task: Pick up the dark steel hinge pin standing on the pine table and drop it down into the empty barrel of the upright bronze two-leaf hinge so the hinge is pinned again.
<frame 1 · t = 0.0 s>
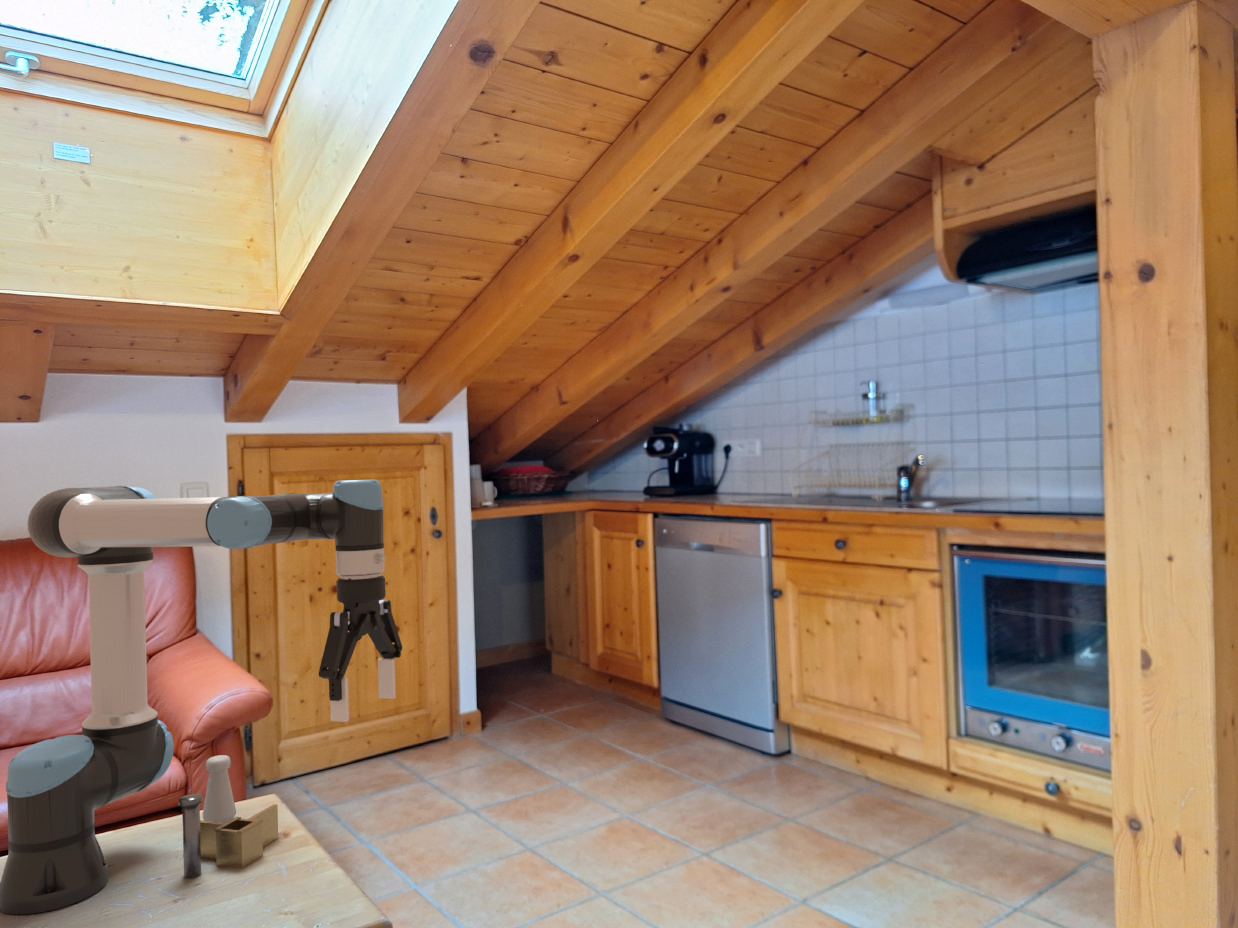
hand: (364, 708, 141), 28 cm above the table, fingers open, 13 cm apart
hinge: (240, 859, 151), on the table
salt shaker: (219, 826, 167), on the table
hinge pin: (192, 874, 146), on the table
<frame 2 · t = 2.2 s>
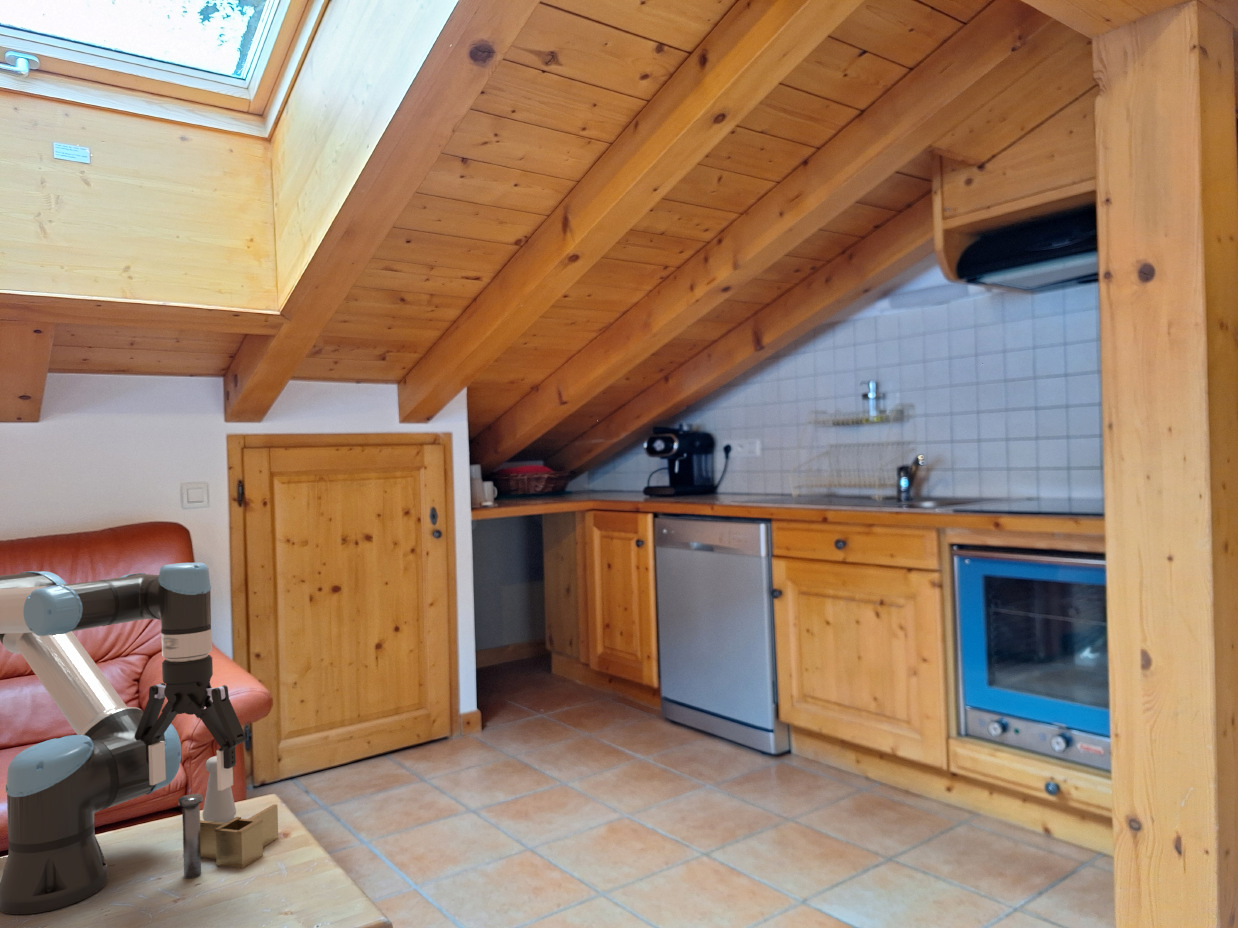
hand: (191, 784, 146), 15 cm above the table, fingers open, 13 cm apart
nothing on the table moved.
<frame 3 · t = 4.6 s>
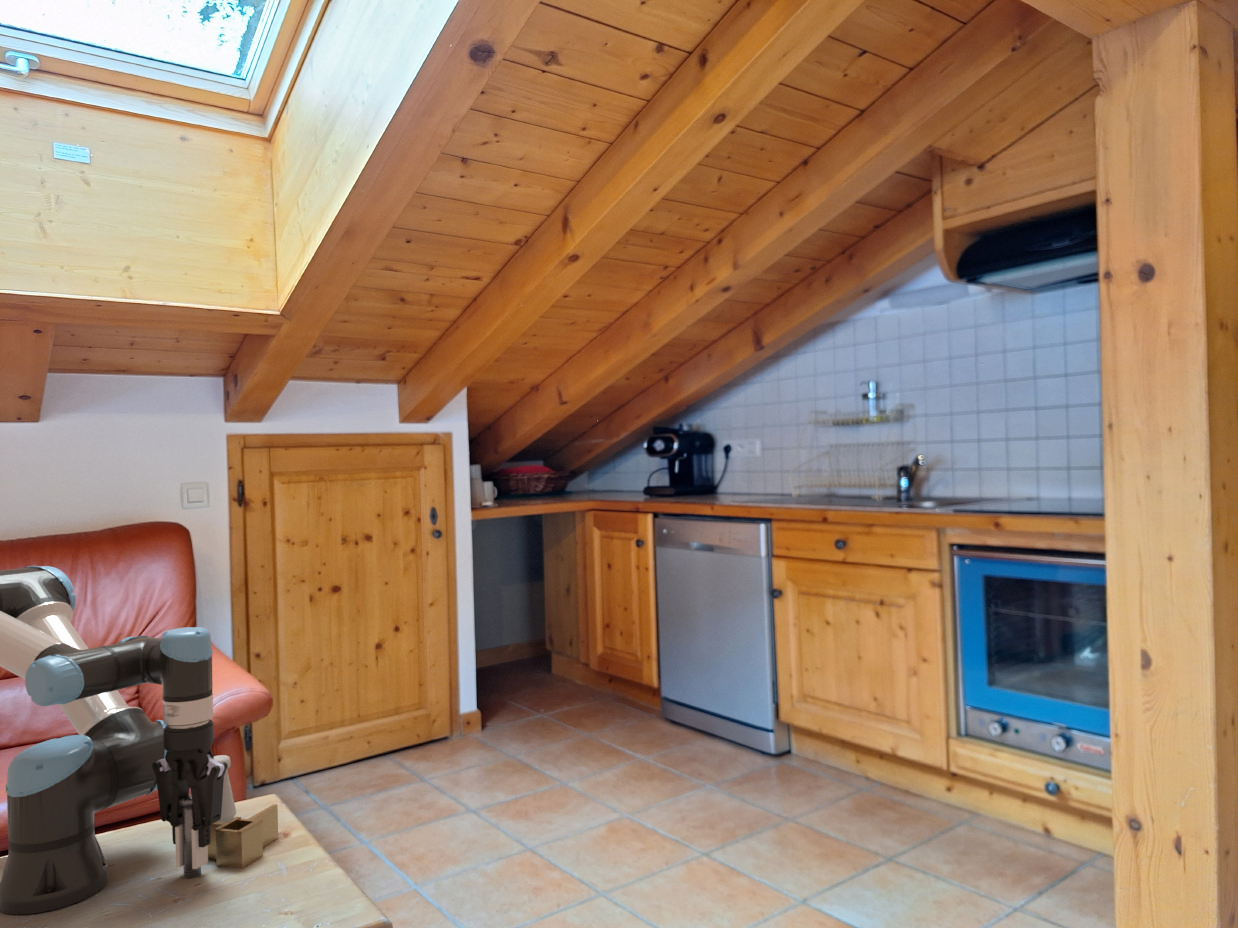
hand: (192, 863, 146), 2 cm above the table, fingers closed on hinge pin, 2 cm apart
hinge pin: (192, 874, 146), on the table, touching gripper
everything else where it was.
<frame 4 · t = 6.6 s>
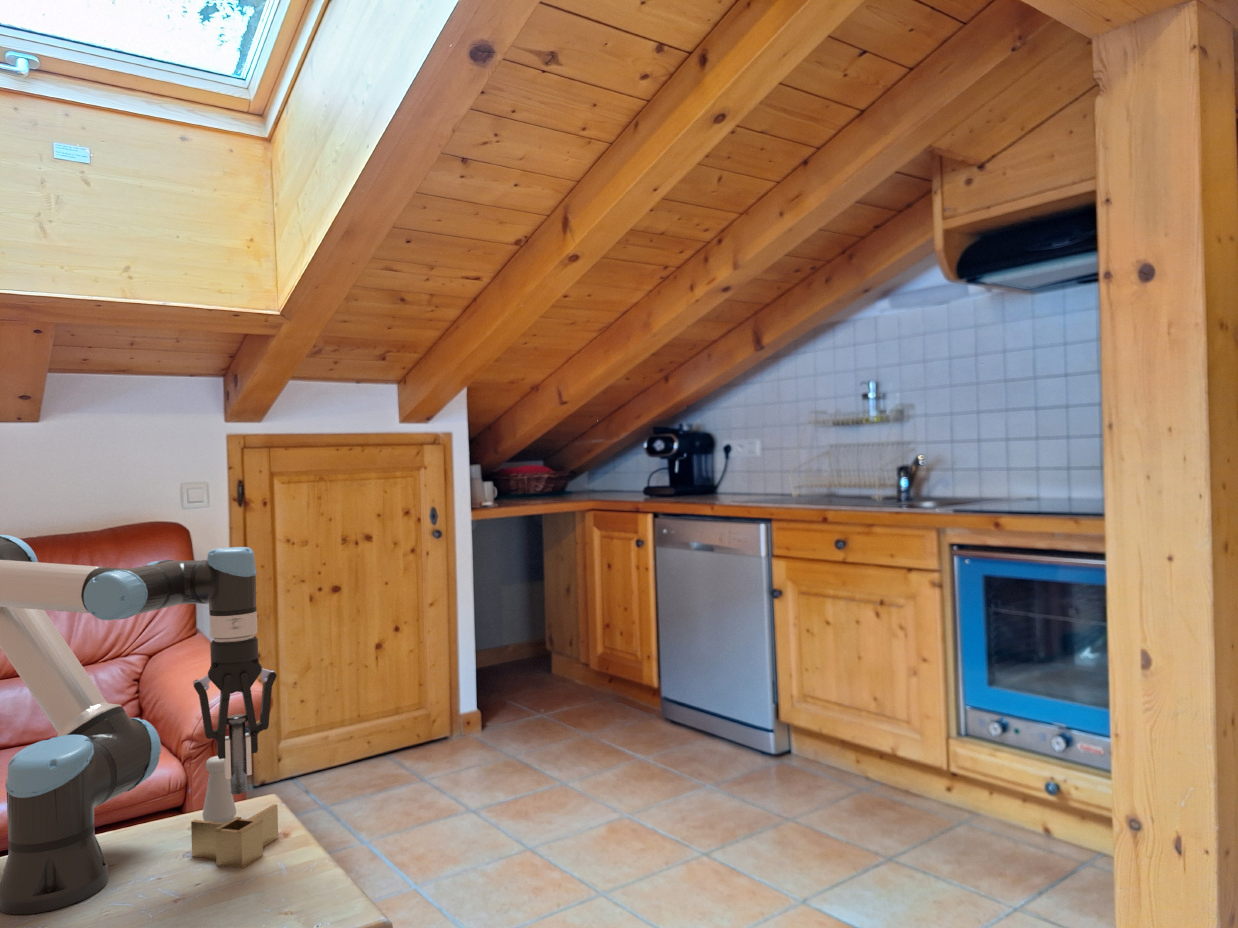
hand: (238, 774, 152), 15 cm above the table, fingers closed on hinge pin, 2 cm apart
hinge pin: (238, 791, 151), point 12 cm above the table, touching gripper
everything else where it was.
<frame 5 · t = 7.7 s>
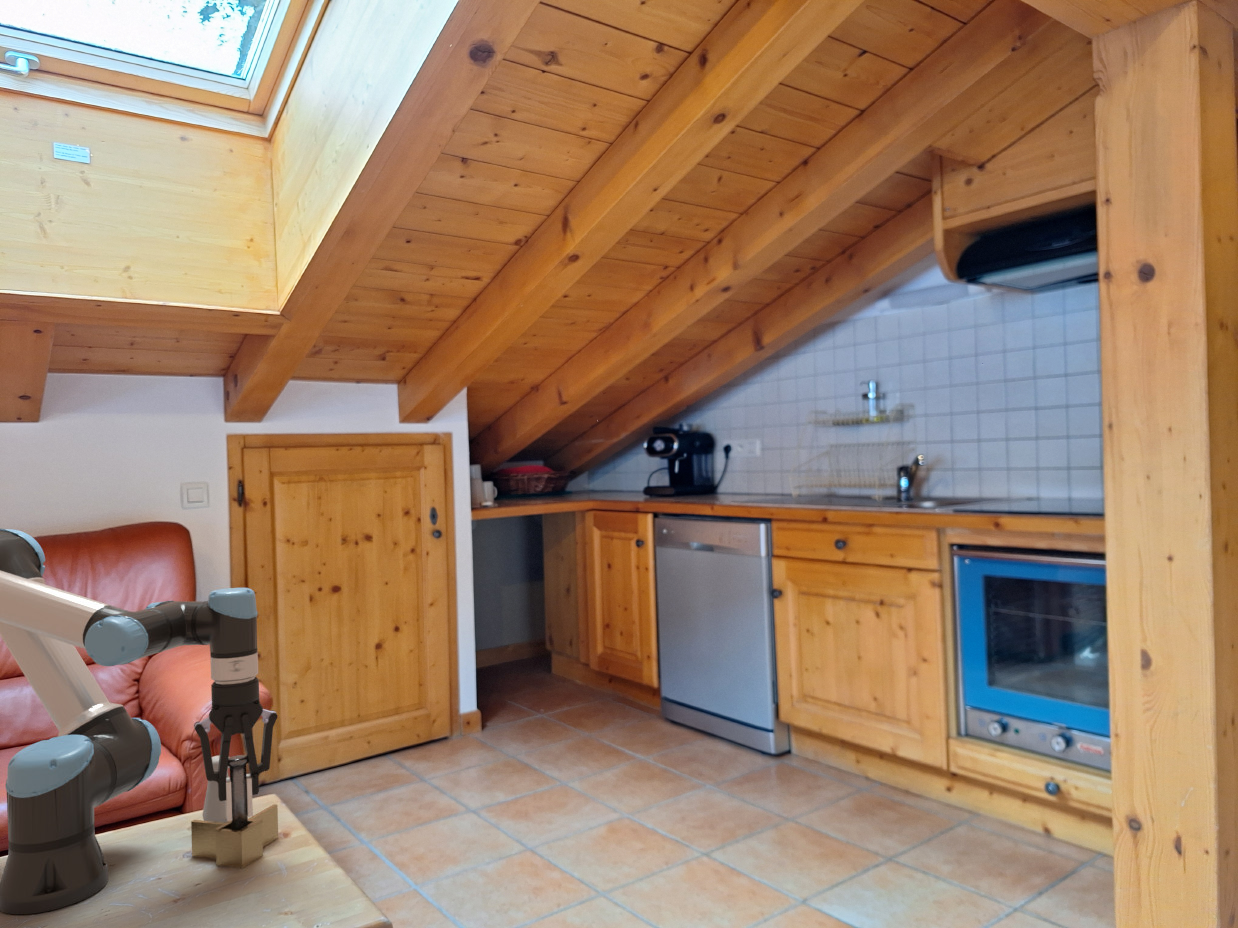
hand: (239, 815, 151), 8 cm above the table, fingers closed on hinge pin, 2 cm apart
hinge pin: (239, 832, 151), point 5 cm above the table, touching gripper
everything else where it was.
when the fingers open (7 cm above the table, at t = 8.7 s): hinge pin drops 4 cm, resting in hinge.
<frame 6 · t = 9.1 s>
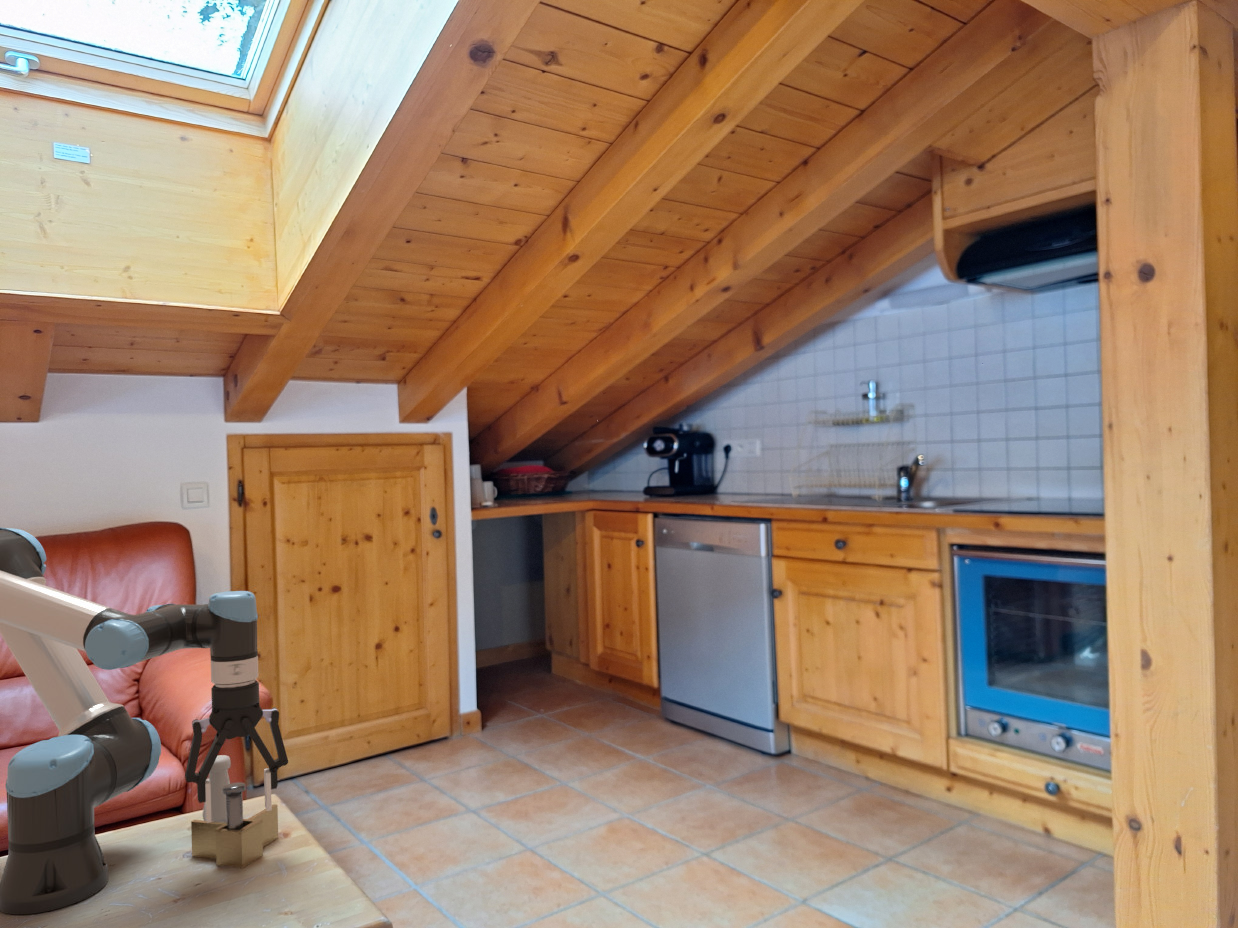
hand: (238, 813, 152), 8 cm above the table, fingers open, 9 cm apart
hinge pin: (235, 861, 151), resting in hinge
everything else where it was.
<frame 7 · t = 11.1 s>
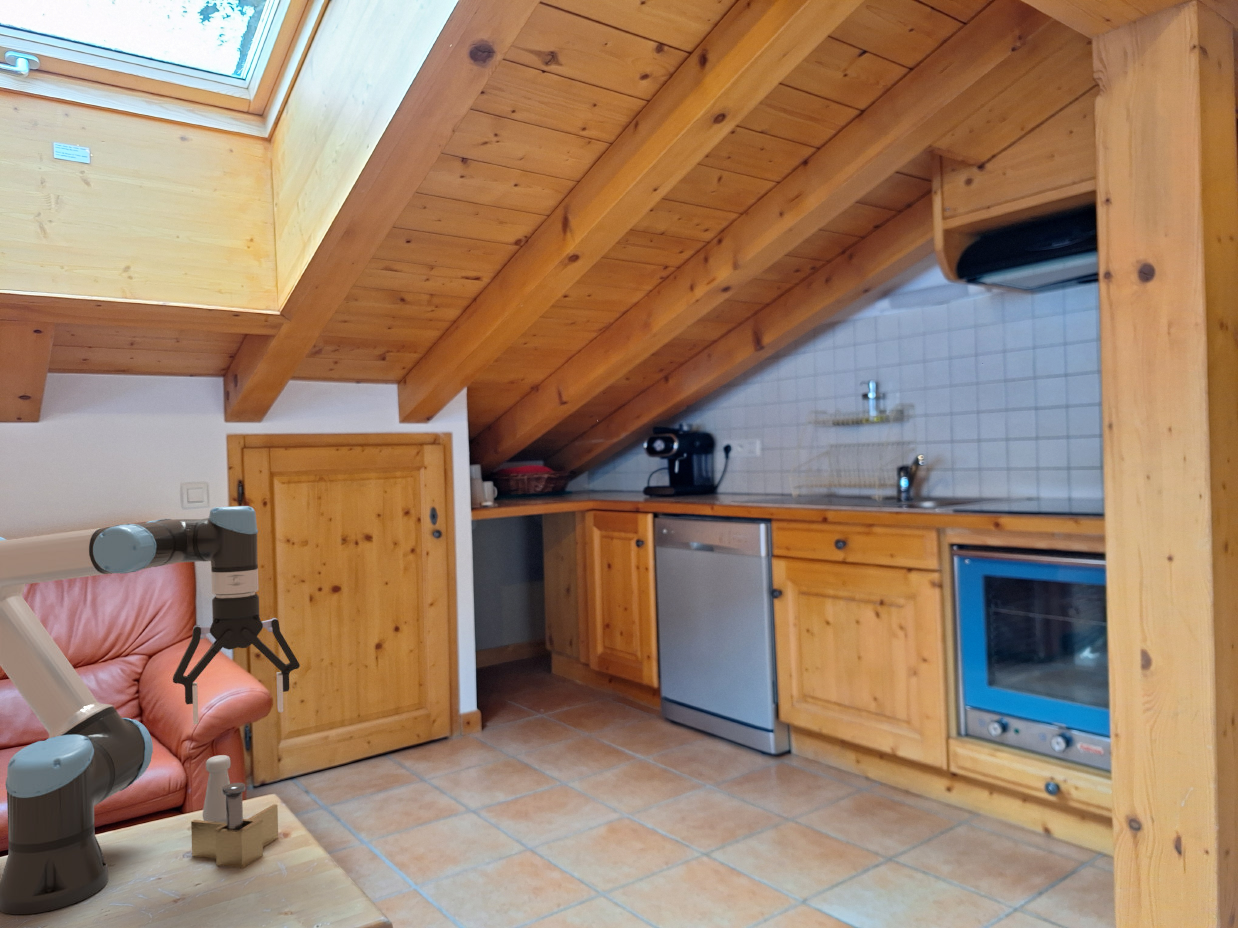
hand: (239, 716, 154), 24 cm above the table, fingers open, 13 cm apart
nothing on the table moved.
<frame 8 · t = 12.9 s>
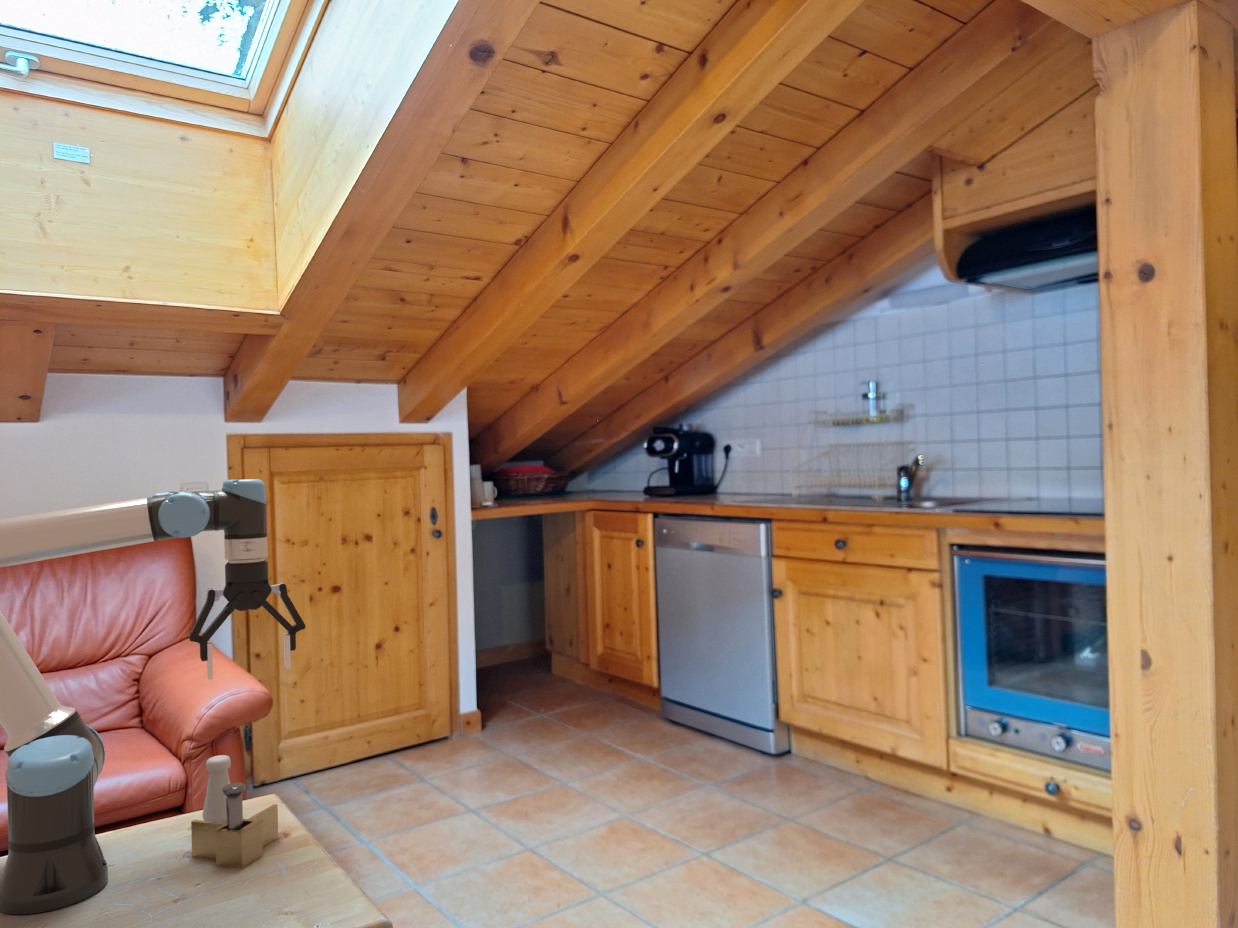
hand: (249, 673, 167), 29 cm above the table, fingers open, 13 cm apart
nothing on the table moved.
at the end: hinge pin 0.6 cm off-centre on the hinge, point 0.0 cm above the hinge's base; hinge pin tilted 0°; the gripper is holding nothing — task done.
